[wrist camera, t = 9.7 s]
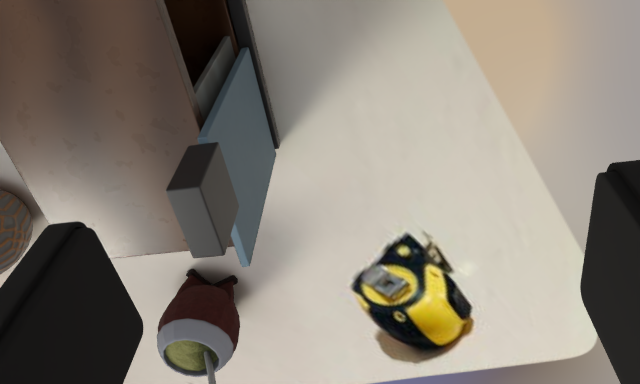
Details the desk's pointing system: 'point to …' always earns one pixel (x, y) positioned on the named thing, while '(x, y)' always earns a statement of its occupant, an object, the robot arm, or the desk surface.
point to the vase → (13, 229)
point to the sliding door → (226, 170)
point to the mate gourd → (199, 327)
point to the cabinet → (115, 106)
